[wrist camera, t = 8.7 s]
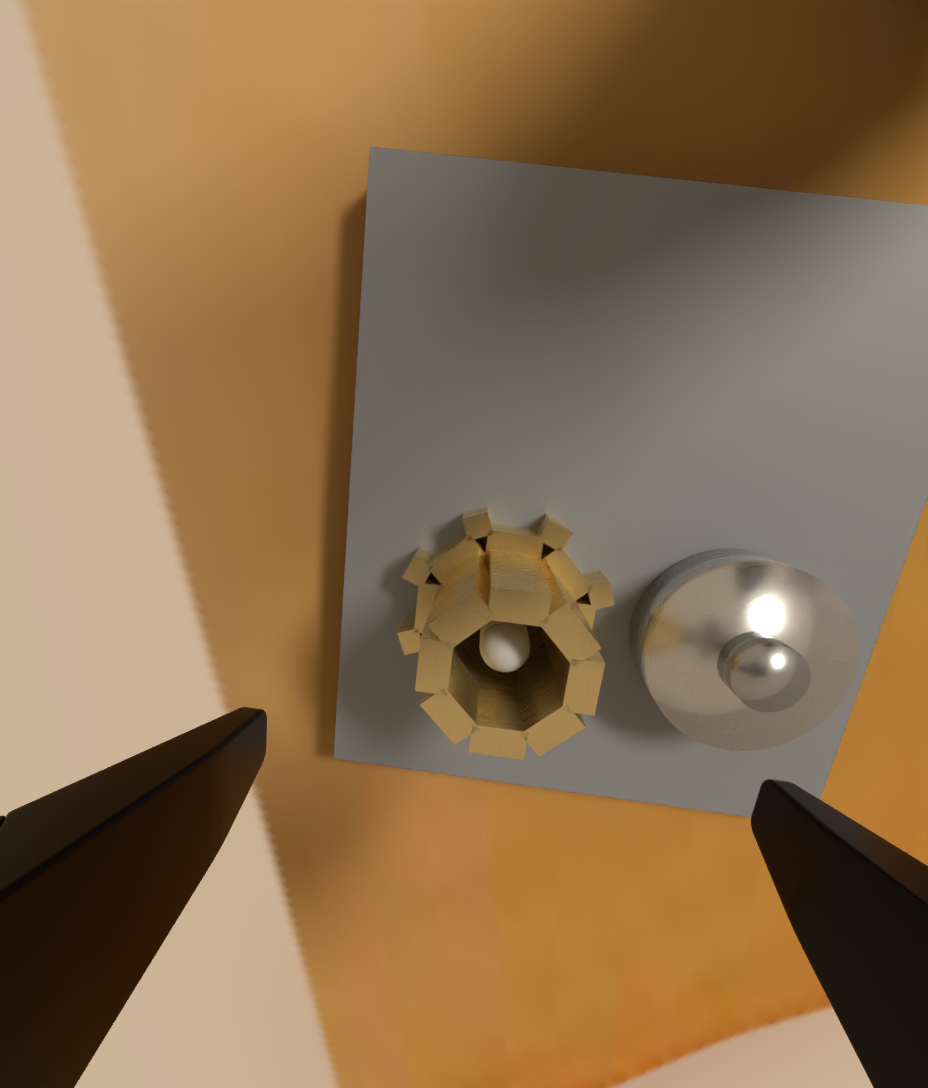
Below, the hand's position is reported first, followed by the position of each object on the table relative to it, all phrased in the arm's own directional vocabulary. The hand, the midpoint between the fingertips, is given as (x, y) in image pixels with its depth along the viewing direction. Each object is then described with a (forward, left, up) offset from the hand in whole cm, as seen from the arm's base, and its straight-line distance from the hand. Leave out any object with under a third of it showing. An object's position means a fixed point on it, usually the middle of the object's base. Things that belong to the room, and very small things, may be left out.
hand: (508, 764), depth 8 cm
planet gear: (0, 0, -8) cm, 8 cm away
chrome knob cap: (-8, 0, -8) cm, 11 cm away
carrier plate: (-4, -3, -9) cm, 10 cm away
